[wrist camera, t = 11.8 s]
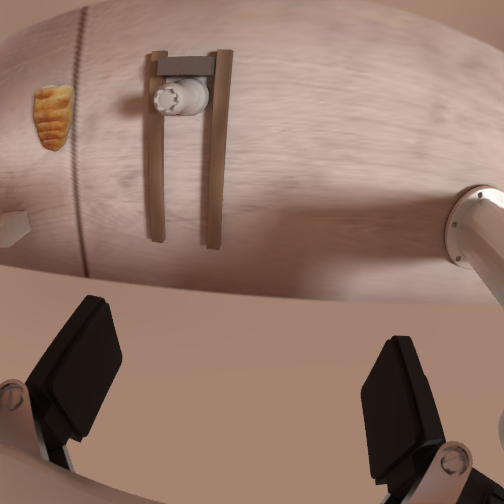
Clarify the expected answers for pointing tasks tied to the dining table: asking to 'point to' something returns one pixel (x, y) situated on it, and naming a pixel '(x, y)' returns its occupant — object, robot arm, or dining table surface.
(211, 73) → the end stop
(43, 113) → the pastry
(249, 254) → the dining table surface
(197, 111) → the rook chess piece
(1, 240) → the white gable top carton
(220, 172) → the guide track
